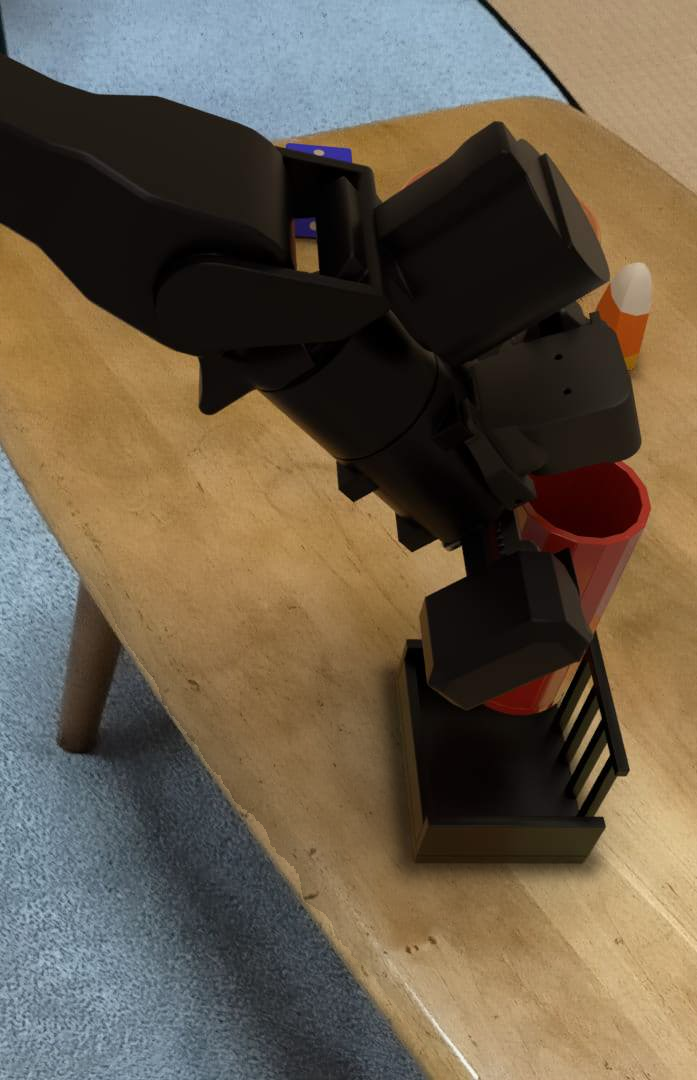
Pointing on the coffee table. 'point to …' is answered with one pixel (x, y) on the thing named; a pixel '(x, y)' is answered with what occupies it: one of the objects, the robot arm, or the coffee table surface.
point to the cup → (581, 551)
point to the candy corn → (628, 308)
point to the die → (308, 225)
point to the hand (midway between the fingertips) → (571, 586)
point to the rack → (505, 770)
